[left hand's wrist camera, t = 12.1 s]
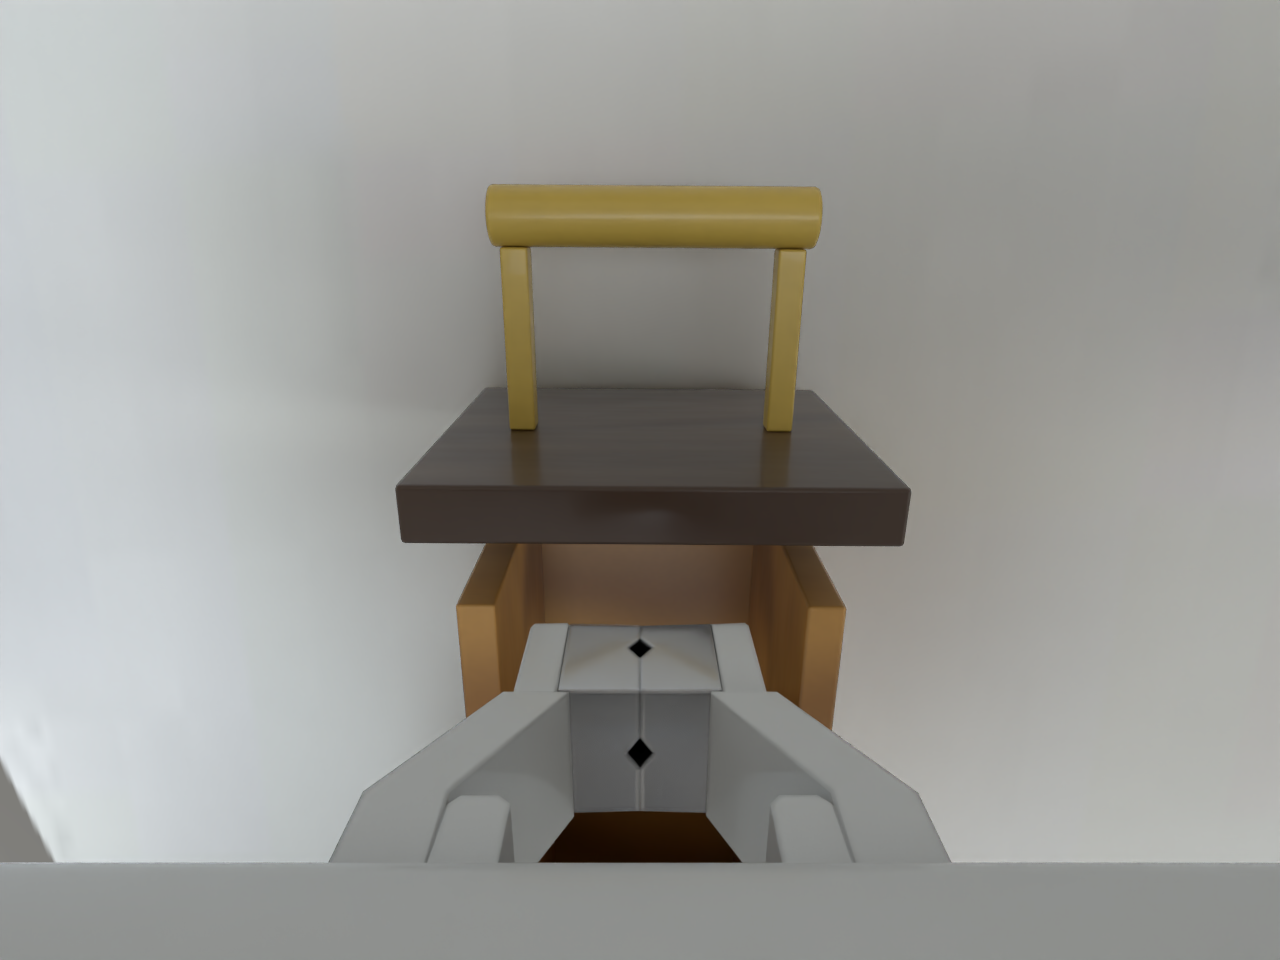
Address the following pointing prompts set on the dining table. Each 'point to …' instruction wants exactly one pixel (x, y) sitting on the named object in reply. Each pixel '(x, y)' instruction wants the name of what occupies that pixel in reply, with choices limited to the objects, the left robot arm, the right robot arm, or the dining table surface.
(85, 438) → the dining table surface
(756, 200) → the drawer
